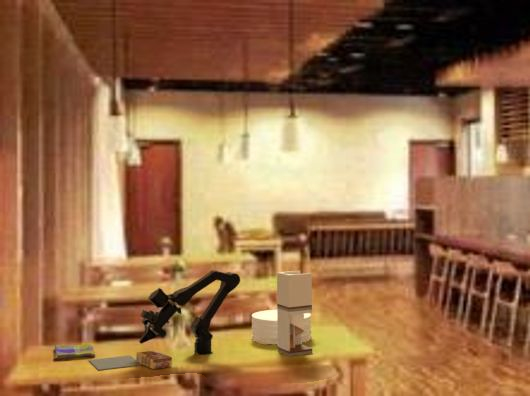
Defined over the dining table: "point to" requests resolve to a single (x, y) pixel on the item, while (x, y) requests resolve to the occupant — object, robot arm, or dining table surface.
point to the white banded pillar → (293, 310)
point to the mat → (114, 362)
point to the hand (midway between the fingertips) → (140, 342)
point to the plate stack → (274, 327)
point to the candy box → (154, 359)
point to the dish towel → (74, 352)
